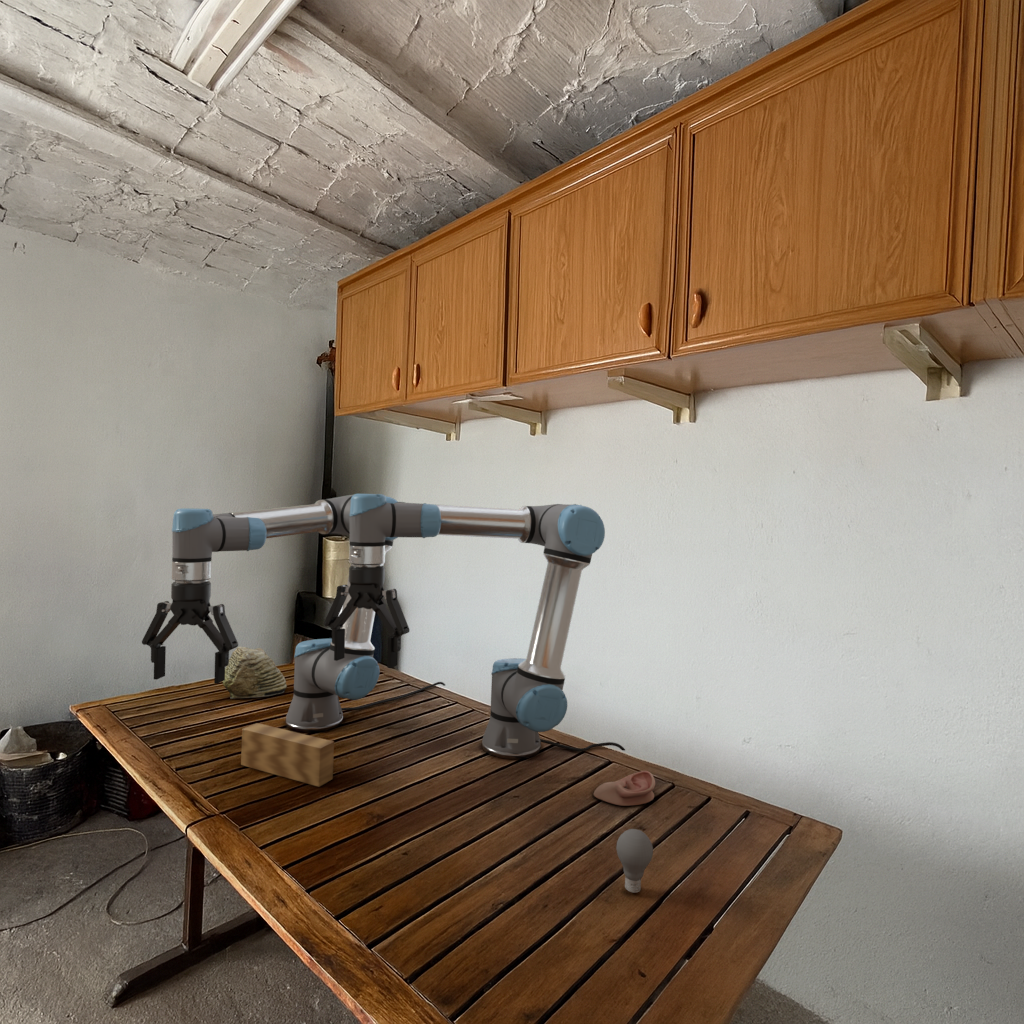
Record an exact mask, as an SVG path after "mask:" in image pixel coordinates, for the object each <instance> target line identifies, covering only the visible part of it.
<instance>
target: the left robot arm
mask: <svg viewBox="0 0 1024 1024" xmlns="http://www.w3.org/2000/svg"><path fill="white" fill-rule="evenodd" d="M353 495H354V494H348V495H343V496H338V497H337V496H336V497H332V498H331V497H330V498H326V499H324V498H323V499H319V500H316V501H315V503H312V504H301V505H292V506H282V507H273V508H262V509H261V508H260V509H253V510H243V511H233V512H222V513H215V514H214V513H213V510H212V509H211V508H189V507H187V508H185V507H184V508H183V507H182V508H177V509H176V510H175V511H174V513H173V518H172V527H171V532H172V534H171V535H172V536H171V537H172V541H171V542H172V545H171V546H172V557H171V579H172V580H173V582H171V589H170V590H171V591H170V592H171V593H170V598H171V600H172V602H170V601H169V600H163V601H161V602H158V603H157V604H156V612H155V614H154V616H153V618H152V620H151V622H150V623H149V626H148V628H147V630H146V632H145V634H144V635H143V638H142V640H141V644H142V645H143V646H148V647H149V648H150V662H151V663H153V680H155V681H157V680H159V679H162V678H163V677H166V656H167V655H166V651H167V646H165V645H164V643H165V641H167V639H168V638H170V636H171V635H172V634H173V632H174V631H175V630H176V629H177V628H178V627H179V626H180V625H181V626H185V625H190V626H198V627H199V628H200V629H202V630H203V632H204V633H205V635H206V636H207V637H208V639H209V640H210V641H211V643H212V644H213V645H214V646H215V648H216V649H217V650H218V651H216V652H214V680H213V681H214V683H213V684H217V685H218V684H221V683H223V681H224V680H225V668H226V667H227V666H228V664H229V659H230V651H231V650H234V649H237V648H238V647H239V642H238V640H237V637H236V635H235V633H234V631H233V628H232V627H231V624H230V621H229V619H228V617H227V615H226V611H225V610H226V608H225V607H226V606H225V604H224V603H219V604H217V605H211V602H210V600H211V596H212V582H211V581H210V579H212V560H213V559H212V557H213V554H212V553H218V552H240V551H241V552H244V551H245V552H249V551H254V550H260V549H261V548H263V547H264V545H265V543H266V541H267V539H273V538H279V537H280V538H281V537H288V536H295V535H302V534H303V535H304V534H310V533H311V534H312V533H316V532H317V533H319V534H320V535H329V534H330V535H331V534H339V535H348V536H350V516H349V514H350V506H351V497H352V496H353ZM385 497H386V501H387V503H396V502H399V501H398V500H397V499H395V498H393V497H392V496H387V495H385ZM398 538H399V537H385V554H386V553H387V552H389V551H390V550H392V548H393V546H394V540H396V539H398ZM348 539H349V540H348V541H349V542H348V543H350V538H348ZM384 564H385V563H383V564H382V566H384ZM350 566H352V564H350ZM346 585H348V587H350V582H349V576H348V577H347V583H346ZM350 599H351V596H350V595H349V594H348V595H347V598H346V600H345V602H344V604H343V607H342V609H341V612H342V611H343V610H344V608H345V607H346V606H347V605H346V604H347V603H348V602H349V601H350ZM170 612H172V617H171V618H170V619H169V620H168V621H167V624H166V625H165V626H164V627H163V625H164V623H165V621H166V619H167V616H168V615H169V613H170ZM209 614H211V615H212V616H213V619H214V621H215V624H216V625H215V624H214V623H213V622H214V621H213V619H212V617H211V616H210V615H209ZM375 616H376V612H374V611H373V609H366V608H358V607H357V608H356V609H355V611H354V612H353V613H352V614H351V616H350V617H349V618H348V620H347V621H346V622H345V623H344V625H343V627H342V628H340V629H345V658H343V659H340V660H338V661H335V660H334V644H332V638H317V639H308V640H304V641H300V642H299V643H297V645H296V646H295V650H294V655H293V657H294V672H293V673H294V674H293V695H292V696H293V697H292V699H291V702H290V704H289V708H288V711H287V713H286V715H285V726H286V728H287V729H289V730H291V731H294V732H301V733H316V732H325V731H329V730H332V729H335V728H337V727H339V726H340V725H342V723H343V722H344V714H343V711H344V712H345V711H357V710H362V709H368V708H370V707H374V706H377V705H380V704H385V703H389V702H393V701H397V700H400V699H403V698H407V697H410V696H413V695H414V694H418V693H420V692H423V691H425V690H427V689H431V688H433V687H436V686H438V685H441V686H445V687H446V683H445V682H443V681H437V682H434V683H432V684H429V685H426V686H423V687H421V688H418V689H416V690H414V691H411V692H408V693H406V694H403V695H398V696H395V697H391V698H387V699H383V700H378V701H374V702H372V703H368V704H365V705H360V706H355V707H354V706H353V707H351V706H350V707H342V706H341V702H340V699H339V698H341V699H347V700H352V701H357V700H360V699H363V698H364V697H366V696H368V694H369V693H370V692H372V691H373V690H374V689H375V687H376V686H377V684H378V681H379V678H380V673H381V672H380V671H381V670H380V665H379V664H378V661H377V660H376V659H375V658H374V654H375V649H376V648H375V646H374V645H373V644H372V642H371V638H372V634H373V633H372V632H373V627H374V622H375ZM162 627H163V628H162ZM161 628H162V629H161Z"/></svg>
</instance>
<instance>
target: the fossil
mask: <svg viewBox="0 0 1024 1024" xmlns="http://www.w3.org/2000/svg"><path fill="white" fill-rule="evenodd" d="M222 685H223V687H224V688H225V690H226V691H228V693H229V698H230V699H250V698H264V697H271V696H275V695H281V694H284V693H285V691H286V689H287V687H288V686H287V680H286V678H285V676H284V674H283V673H282V672H281V669H279V668H278V667H277V665H276V663H275V662H274V660H273V659H272V658H271V657H270V656H269V655H268V654H267V653H266V652H265V650H264V649H263V648H260V647H258V648H251V647H247V646H246V647H245V646H238V647H236V648H235V650H233V651H232V653H231V656H229V664H228V666H226V667H225V680H224V681H222Z"/></svg>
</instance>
